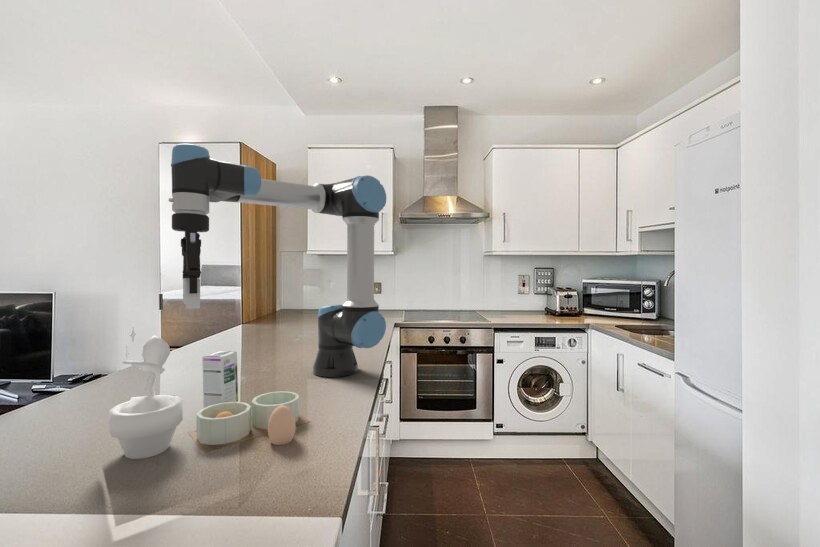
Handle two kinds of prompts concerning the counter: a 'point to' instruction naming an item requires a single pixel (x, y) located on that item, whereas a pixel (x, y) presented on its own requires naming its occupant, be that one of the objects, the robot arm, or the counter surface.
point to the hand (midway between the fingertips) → (191, 306)
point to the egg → (281, 426)
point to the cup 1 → (223, 423)
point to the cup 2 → (273, 406)
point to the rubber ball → (224, 414)
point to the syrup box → (220, 378)
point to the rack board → (253, 434)
